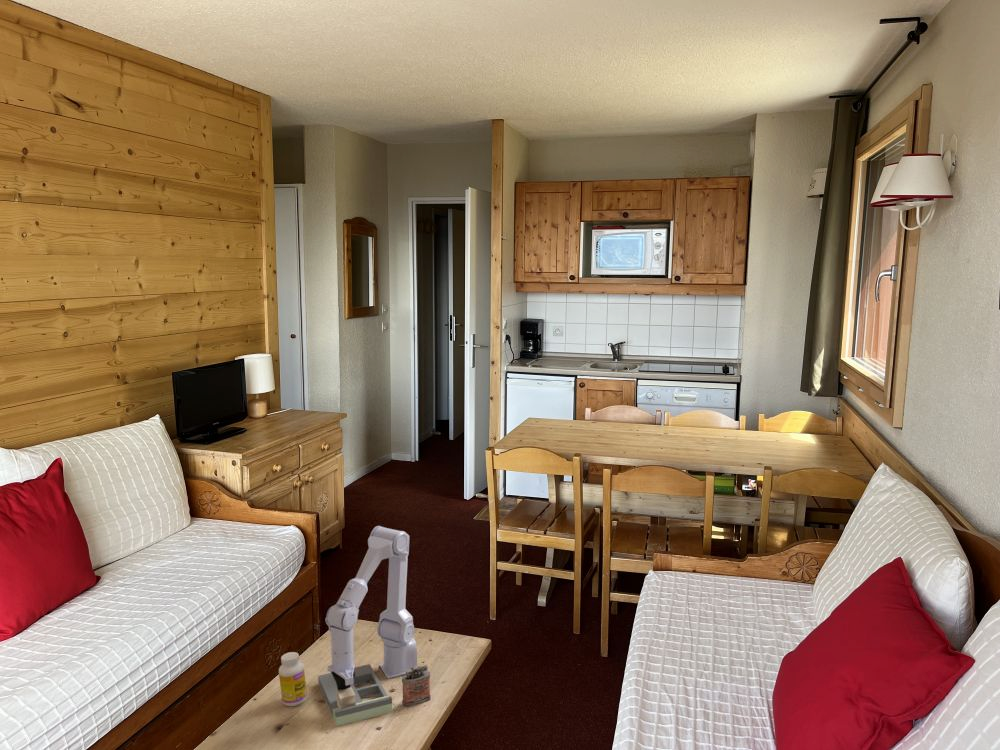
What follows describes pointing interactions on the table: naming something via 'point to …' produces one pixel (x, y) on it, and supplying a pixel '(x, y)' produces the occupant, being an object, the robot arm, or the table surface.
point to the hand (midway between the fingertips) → (343, 696)
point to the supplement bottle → (292, 680)
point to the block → (346, 698)
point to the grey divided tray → (361, 708)
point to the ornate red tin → (416, 686)
